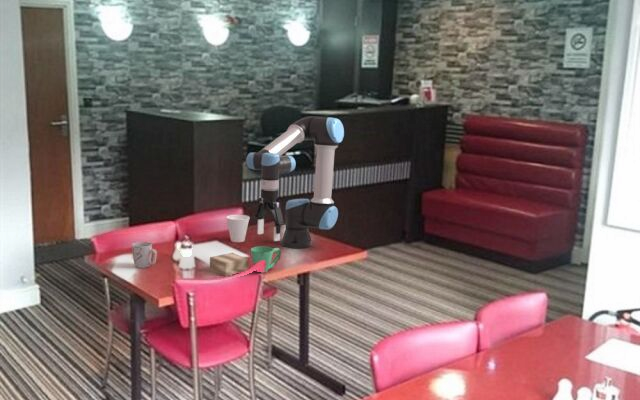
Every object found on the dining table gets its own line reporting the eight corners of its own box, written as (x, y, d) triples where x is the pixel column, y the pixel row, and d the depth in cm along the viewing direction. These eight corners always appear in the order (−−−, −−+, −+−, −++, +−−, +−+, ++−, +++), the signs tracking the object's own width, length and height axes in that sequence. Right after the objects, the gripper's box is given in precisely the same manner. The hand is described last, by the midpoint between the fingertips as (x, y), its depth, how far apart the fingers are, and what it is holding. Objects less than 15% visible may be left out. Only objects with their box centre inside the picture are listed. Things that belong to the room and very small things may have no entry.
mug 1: (161, 265, 303) (161, 243, 301) (151, 270, 295) (151, 248, 293) (139, 262, 306) (139, 240, 304) (128, 267, 298) (128, 245, 296)
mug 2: (258, 276, 292) (259, 253, 290) (245, 270, 300) (246, 248, 298) (286, 270, 302) (286, 248, 300) (273, 265, 309) (273, 243, 307)
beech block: (232, 265, 307) (232, 252, 306) (248, 272, 299) (248, 258, 298) (209, 270, 299) (209, 257, 298) (225, 277, 291) (225, 263, 290)
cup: (247, 244, 343) (248, 220, 341) (224, 243, 344) (224, 219, 341) (250, 238, 355) (251, 215, 353) (227, 237, 355) (228, 214, 353)
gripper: (247, 185, 302) (246, 232, 306) (277, 194, 282) (276, 244, 286) (262, 184, 306) (261, 230, 310) (293, 193, 287) (291, 242, 290)
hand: (268, 237), depth 298 cm, fingers open, 13 cm apart
